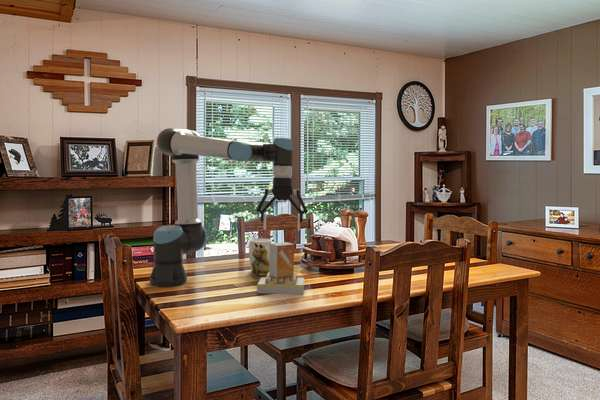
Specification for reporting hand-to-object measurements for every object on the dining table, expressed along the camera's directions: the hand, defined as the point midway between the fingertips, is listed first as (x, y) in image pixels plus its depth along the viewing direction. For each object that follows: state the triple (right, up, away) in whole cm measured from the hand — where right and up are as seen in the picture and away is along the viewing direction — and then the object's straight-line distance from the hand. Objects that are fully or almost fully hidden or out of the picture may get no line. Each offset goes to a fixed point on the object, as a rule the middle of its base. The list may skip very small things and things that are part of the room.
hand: (281, 230), depth 199 cm
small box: (0, -19, +1) cm, 19 cm away
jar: (-11, -22, +33) cm, 41 cm away
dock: (0, -24, +2) cm, 24 cm away
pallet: (0, -21, +2) cm, 21 cm away
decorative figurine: (-10, -22, +23) cm, 33 cm away
